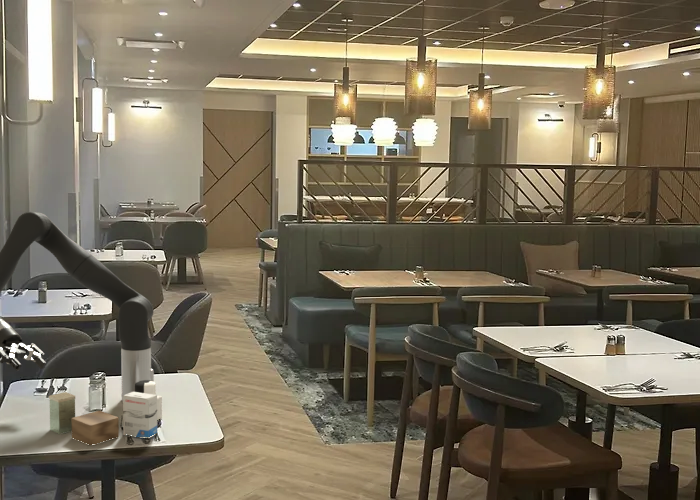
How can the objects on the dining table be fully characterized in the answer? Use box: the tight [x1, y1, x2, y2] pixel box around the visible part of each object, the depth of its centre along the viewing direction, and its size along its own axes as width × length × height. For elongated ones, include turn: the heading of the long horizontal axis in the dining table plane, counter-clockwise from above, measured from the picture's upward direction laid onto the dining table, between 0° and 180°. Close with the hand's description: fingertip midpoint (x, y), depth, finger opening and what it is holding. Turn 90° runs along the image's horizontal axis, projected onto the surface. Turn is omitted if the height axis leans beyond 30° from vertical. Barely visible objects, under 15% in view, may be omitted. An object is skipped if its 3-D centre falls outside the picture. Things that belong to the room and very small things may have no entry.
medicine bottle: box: [135, 380, 163, 421], centre depth 236 cm, size 7×7×12 cm
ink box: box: [122, 392, 158, 438], centre depth 224 cm, size 8×5×12 cm, turn 71°
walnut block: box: [71, 410, 120, 446], centre depth 221 cm, size 9×9×6 cm
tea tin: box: [48, 391, 76, 435], centre depth 226 cm, size 5×5×10 cm
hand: (31, 367), depth 235 cm, fingers open, 8 cm apart
